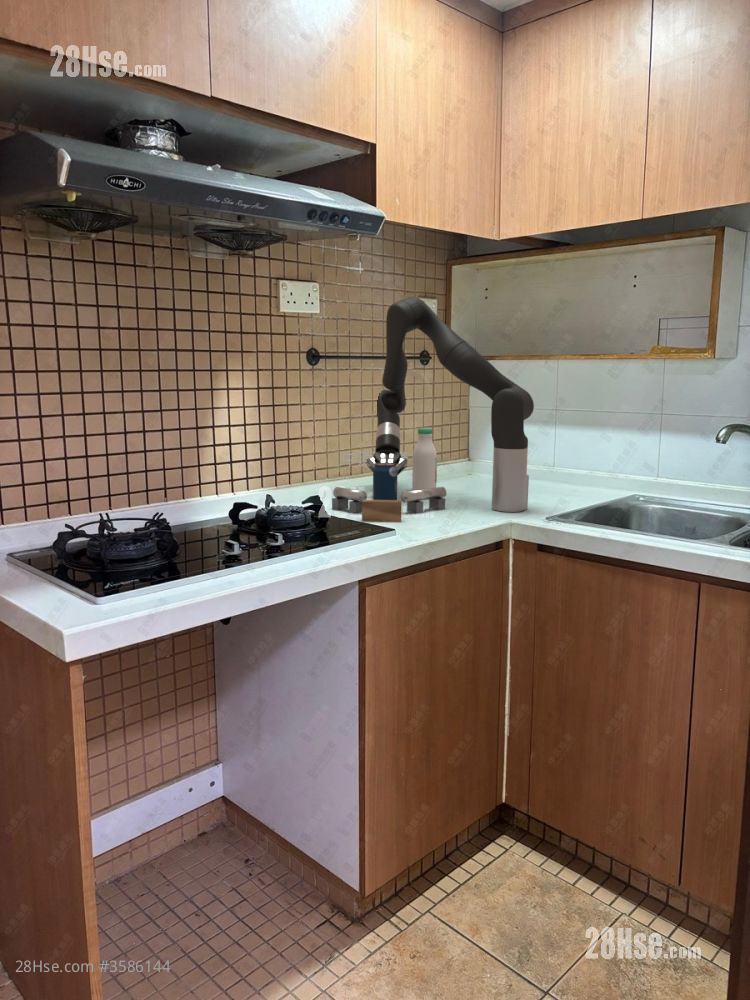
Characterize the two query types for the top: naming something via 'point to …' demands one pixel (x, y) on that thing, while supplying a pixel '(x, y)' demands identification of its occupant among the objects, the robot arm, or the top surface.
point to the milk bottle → (424, 461)
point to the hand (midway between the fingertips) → (386, 486)
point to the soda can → (385, 481)
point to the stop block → (381, 510)
